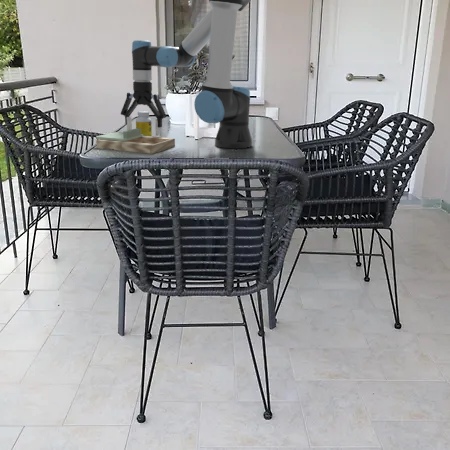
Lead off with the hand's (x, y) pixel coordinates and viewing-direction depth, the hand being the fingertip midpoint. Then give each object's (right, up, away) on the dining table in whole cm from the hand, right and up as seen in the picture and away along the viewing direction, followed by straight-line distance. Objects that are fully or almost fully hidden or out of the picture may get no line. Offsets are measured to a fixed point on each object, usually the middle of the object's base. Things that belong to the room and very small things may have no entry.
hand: (143, 133), depth 200 cm
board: (0, -8, -15) cm, 17 cm away
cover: (-7, -4, -14) cm, 16 cm away
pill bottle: (0, -3, +1) cm, 3 cm away
